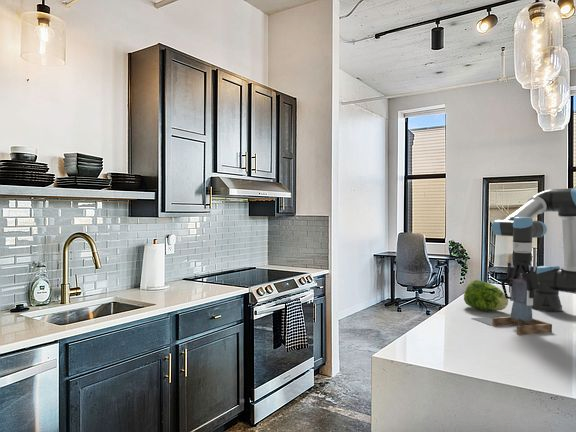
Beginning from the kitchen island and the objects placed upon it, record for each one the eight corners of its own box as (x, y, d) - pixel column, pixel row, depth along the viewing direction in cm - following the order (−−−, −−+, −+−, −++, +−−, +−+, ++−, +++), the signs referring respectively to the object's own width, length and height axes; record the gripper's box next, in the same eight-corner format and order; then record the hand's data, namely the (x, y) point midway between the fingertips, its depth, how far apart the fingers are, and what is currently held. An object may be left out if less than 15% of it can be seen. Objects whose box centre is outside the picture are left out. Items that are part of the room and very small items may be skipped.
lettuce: (498, 321, 212) (510, 293, 210) (457, 302, 223) (468, 275, 222) (502, 319, 225) (514, 293, 224) (463, 301, 237) (474, 276, 235)
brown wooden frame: (523, 323, 199) (523, 315, 199) (551, 332, 184) (552, 324, 184) (492, 325, 193) (492, 317, 193) (519, 335, 179) (519, 326, 179)
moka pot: (543, 322, 183) (543, 276, 183) (505, 321, 186) (504, 275, 186) (535, 317, 192) (535, 273, 192) (498, 316, 195) (498, 272, 195)
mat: (498, 316, 210) (498, 316, 210) (518, 323, 198) (518, 322, 198) (470, 318, 205) (470, 318, 205) (490, 325, 193) (490, 325, 193)
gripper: (496, 249, 197) (495, 298, 198) (535, 254, 177) (534, 309, 177) (509, 249, 199) (508, 297, 200) (549, 254, 179) (548, 308, 179)
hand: (521, 302), depth 189 cm, fingers closed on moka pot, 8 cm apart
